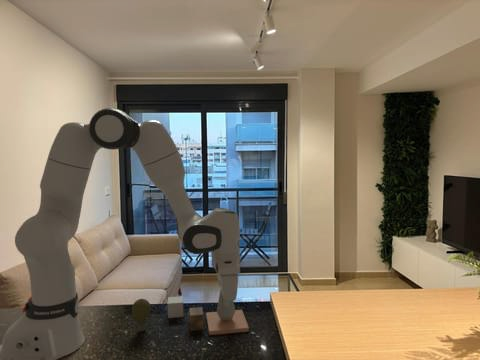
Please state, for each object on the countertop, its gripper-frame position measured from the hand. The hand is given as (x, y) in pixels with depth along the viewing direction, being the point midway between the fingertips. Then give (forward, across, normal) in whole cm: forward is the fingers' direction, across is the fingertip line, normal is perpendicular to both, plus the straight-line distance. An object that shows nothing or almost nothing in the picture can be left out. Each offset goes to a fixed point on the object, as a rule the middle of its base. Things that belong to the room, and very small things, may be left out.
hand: (225, 302), depth 114 cm
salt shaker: (+5, 0, 0) cm, 5 cm away
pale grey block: (+7, -10, -16) cm, 20 cm away
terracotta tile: (+7, 0, 0) cm, 7 cm away
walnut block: (+7, 0, -9) cm, 12 cm away
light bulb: (+7, 0, -26) cm, 27 cm away
